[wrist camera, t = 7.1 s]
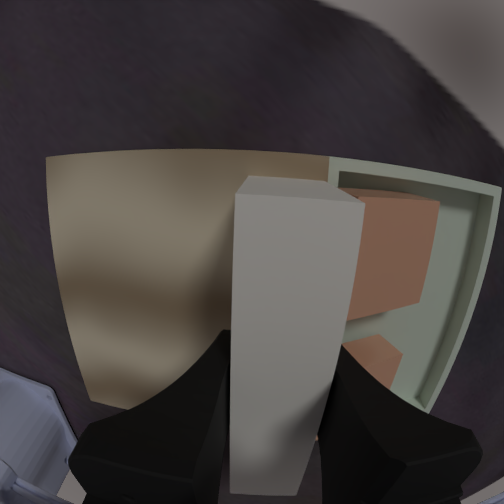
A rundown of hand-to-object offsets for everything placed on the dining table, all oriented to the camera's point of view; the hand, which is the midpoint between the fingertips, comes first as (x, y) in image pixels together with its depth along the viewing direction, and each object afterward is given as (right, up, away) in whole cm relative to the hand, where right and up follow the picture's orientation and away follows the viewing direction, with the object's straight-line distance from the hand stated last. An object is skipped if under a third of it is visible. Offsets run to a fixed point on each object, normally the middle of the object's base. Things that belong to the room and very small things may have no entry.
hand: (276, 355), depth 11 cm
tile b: (+4, +4, +1) cm, 6 cm away
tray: (+6, +1, +4) cm, 7 cm away
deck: (-4, +2, +4) cm, 6 cm away
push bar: (0, +1, +2) cm, 2 cm away
